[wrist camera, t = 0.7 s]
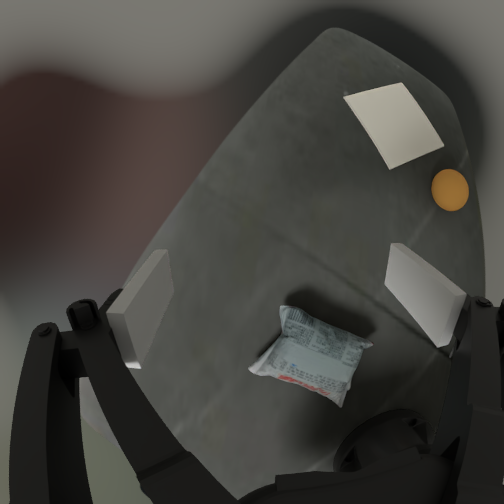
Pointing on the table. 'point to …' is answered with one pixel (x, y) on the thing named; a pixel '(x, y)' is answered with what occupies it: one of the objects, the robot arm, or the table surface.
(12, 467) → the robot arm
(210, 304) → the table surface
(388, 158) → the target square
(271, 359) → the packaged food
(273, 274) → the table surface
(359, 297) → the table surface
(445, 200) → the ball
